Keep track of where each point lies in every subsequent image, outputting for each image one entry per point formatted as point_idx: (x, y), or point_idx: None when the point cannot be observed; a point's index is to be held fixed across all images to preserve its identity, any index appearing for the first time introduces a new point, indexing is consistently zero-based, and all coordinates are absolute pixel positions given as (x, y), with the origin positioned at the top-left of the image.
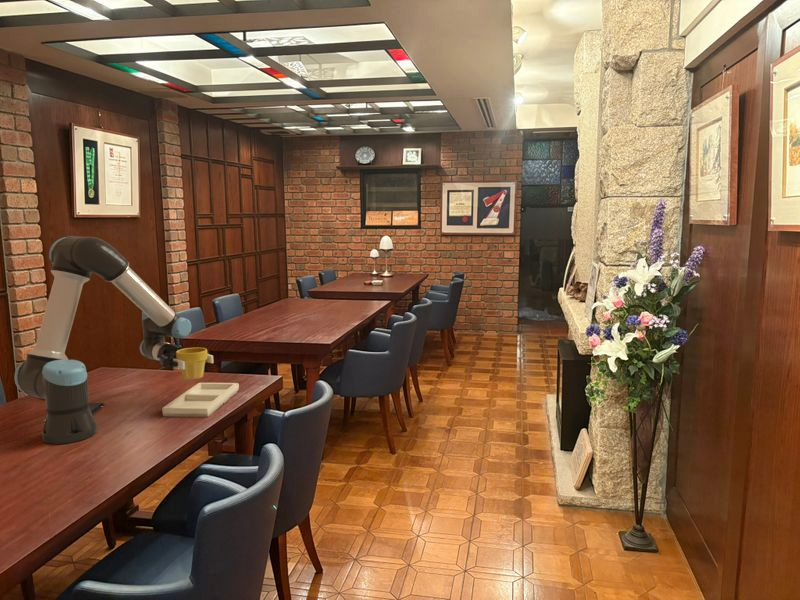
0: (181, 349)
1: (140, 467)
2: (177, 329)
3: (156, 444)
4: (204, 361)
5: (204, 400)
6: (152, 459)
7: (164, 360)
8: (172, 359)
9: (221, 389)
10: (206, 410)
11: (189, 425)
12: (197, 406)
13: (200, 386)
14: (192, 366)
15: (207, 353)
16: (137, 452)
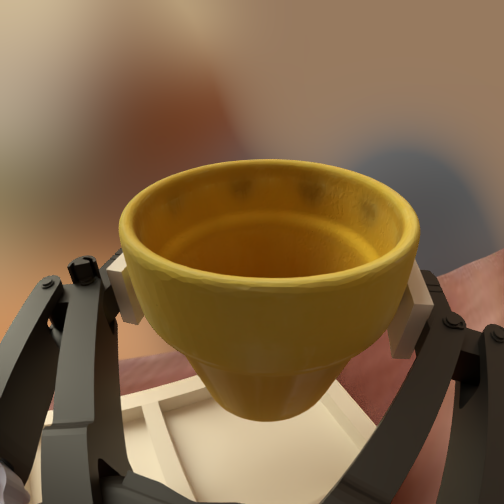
0: (300, 278)
1: (485, 267)
2: None
3: (462, 310)
4: (229, 240)
5: (183, 466)
6: (471, 274)
7: (499, 328)
8: (435, 316)
9: (36, 479)
10: None
11: (372, 345)
12: (260, 436)
13: None
14: (319, 261)
15: (65, 287)
16: (491, 304)
